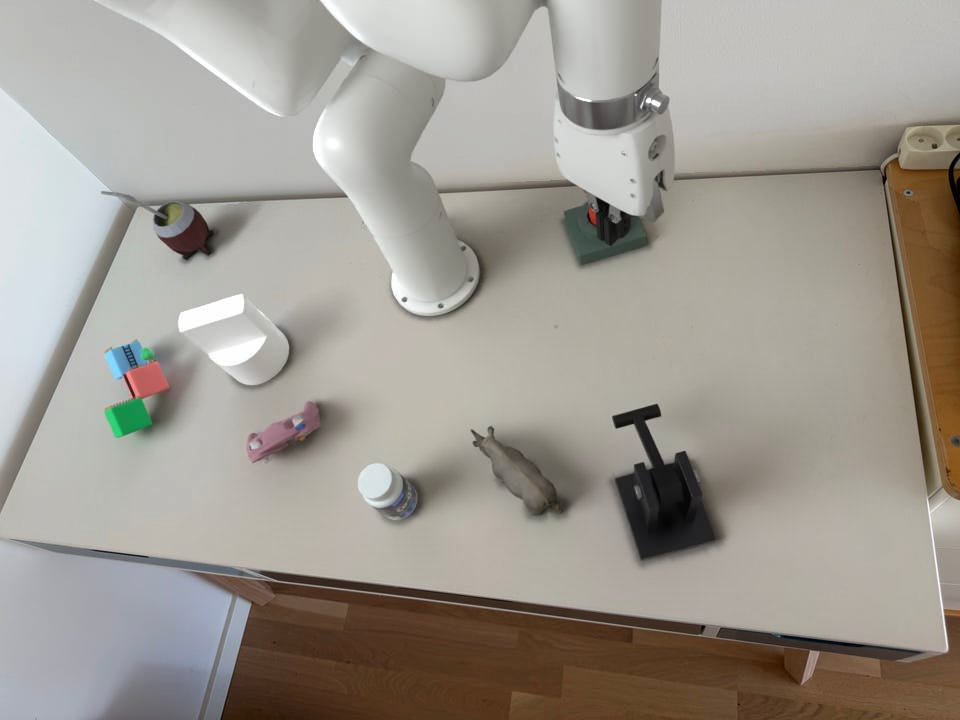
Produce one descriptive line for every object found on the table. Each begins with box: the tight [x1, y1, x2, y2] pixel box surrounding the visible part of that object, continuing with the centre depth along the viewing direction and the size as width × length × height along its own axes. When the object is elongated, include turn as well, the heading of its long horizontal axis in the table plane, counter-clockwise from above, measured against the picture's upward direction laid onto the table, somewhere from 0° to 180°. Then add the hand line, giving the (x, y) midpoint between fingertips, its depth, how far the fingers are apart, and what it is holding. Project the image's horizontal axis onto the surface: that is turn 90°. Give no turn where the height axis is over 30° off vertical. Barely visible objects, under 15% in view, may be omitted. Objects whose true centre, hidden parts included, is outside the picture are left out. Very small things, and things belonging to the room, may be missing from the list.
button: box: [589, 207, 596, 225], centre depth 85 cm, size 4×4×2 cm
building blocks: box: [103, 338, 170, 439], centre depth 90 cm, size 8×8×12 cm
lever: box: [611, 403, 684, 506], centre depth 66 cm, size 12×5×2 cm, turn 12°
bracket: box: [614, 450, 717, 562], centre depth 66 cm, size 9×8×12 cm
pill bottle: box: [357, 462, 418, 521], centre depth 74 cm, size 5×5×8 cm
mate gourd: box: [100, 190, 215, 261], centre depth 98 cm, size 8×8×15 cm
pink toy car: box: [245, 400, 320, 464], centre depth 82 cm, size 10×5×7 cm, turn 117°
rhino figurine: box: [470, 425, 564, 517], centre depth 73 cm, size 4×14×6 cm, turn 41°
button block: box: [563, 200, 648, 266], centre depth 87 cm, size 8×9×4 cm
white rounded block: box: [177, 293, 290, 386], centre depth 87 cm, size 9×9×12 cm
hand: (613, 233), depth 66 cm, fingers closed
